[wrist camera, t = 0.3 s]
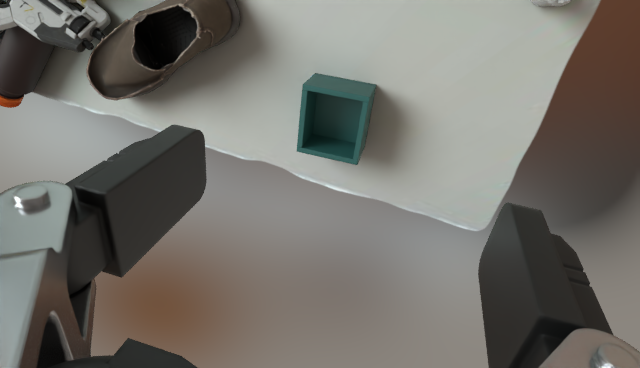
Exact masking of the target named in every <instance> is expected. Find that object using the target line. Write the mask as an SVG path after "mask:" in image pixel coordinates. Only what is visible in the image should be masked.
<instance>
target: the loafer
mask: <svg viewBox="0 0 640 368" xmlns="http://www.w3.org/2000/svg"><path fill="white" fill-rule="evenodd" d="M239 23H240V15H239V10H238V7H237V4H236V2H235V0H166V1H164V2H162V3H160V4H158V5H156V6H154V7H151V8H149V9H147V10H143V11H140V12H138V13H137V14H136V15H134V17H133V18H132V19H130V20H128V19H127V20H125V21H124V22H123V23H122V24H120V25H119V26H118V27H117V28H115V29H114V31H112V32H111V33H110V34H109V35H108V36H106V37H105V38H104V39H103V38H102V40H101V42H100V43H99V44H98V45H97V46H96V48H95V49H94V50H93V52H92V53H91V55H90V58H89V60H88V65H87V69H86V72H87V77H88V79H89V81H90V85H91V86H92V87H93V88H94V89H95V90H96V91H97V92H98V93H99V94H100V95H101V96H103V97H104V98H106V99H111V100H119V99H125V98H131V97H135V96H139V95H142V94H145V93H148V92H150V91H153V90H155V89H156V88H158V87H159V86H161V85H162V84H163V83H164V82H165V81H167V80H168V78H169V77H170V76H171V75H172V74H173V72H174V71H175V70H176V69H177V68H178V67H180V66H181V65H183V64H184V63H186V62H187V61H189V60H190V59H191V58H193V57H194V56H195V55H197V54H198V53H199V52H201V51H203V50H206V49H208V48H211V47H213V46H216V45H218V44H220V43H222V42H224V41H226V40H228V39H229V38H230V37H232V36H233V35H234V34H235V32H236V31H237V29H238V27H239Z"/></svg>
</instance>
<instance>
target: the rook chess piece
mask: <svg viewBox="0 0 640 368" xmlns="http://www.w3.org/2000/svg"><path fill="white" fill-rule="evenodd" d="M570 1H571V0H531V2H532V3H533V4H535V5H538V6H551V5H553V6H562V5H565V4H567V3H569V2H570Z"/></svg>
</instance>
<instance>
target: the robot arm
mask: <svg viewBox="0 0 640 368" xmlns="http://www.w3.org/2000/svg"><path fill="white" fill-rule="evenodd" d="M205 186H206V162H205V140H204V135H203V133H202V132H201V131H200V130H196V129H192V128H187V127H183V126H179V125H171V126H170V127H168V128H166V129H165V130H163V131H161V132H160V133H158V134H157V135H155V136H153V137H152V138H149V139H145V140H142V141H139V142H135V143H133V144H131V145H130V146H128V147H126V148H125V149H123V150H121V151H120V152H119V154H117V153H116V154H115V155H113V156H111V157H109V158H108V160H107V161H103V162H101V163H100V164H98V165H96V166H94V167H93V168H91V169H90V170H88V171H86V172H84V173H83V174H81V175H80V176H78V177H76V178H75V179H73V180H71V181H69V182H68V183H66V184H63V183H59V182H53V181H37V182H30V183H25V184H22V185H18V186H15V187H12V188H10V189H8V190H5V191H4V192H2V193H0V368H197V367H196V366H194V365H193V364H192V363H190V362H189V361H187V360H186V359H184V358H183V357H182V356H179V355H177V354H174V353H171V352H167V351H165V350H162V349H159V348H156V347H153V346H150V345H147V344H144V343H141V342H138V341H135V340H132V339H129V338H128V339H127V340H126V341H125V342H124V344H123V345H122V346H121V347H120V349H119V350H118V351H117V352H116V353H115V354H114V356H110V355H109V356H93V357H91V340H92V329H93V318H94V307H95V296H96V283H95V279H94V278H95V276H97V275H98V274H99V273H100V272H101V271H103V272H106V273H109V274H112V275H115V276H119V277H123V276H124V275H125V274H126V273H127V272H128V271H129V270H130V269H131V268H132V267H133V266H134V265H135V264H136V263H137V262H138V261H139V260H140V259H141V258H142V257H143V256H144V255H145V254H146V253H147V252H148V251H149V250H150V249H151V248H152V247H153V246H154V245H155V244H156V243H157V242H158V241H159V240H160V239H161V238H162V237H163V236H164V235H165V234H166V233H167V232H168V231H169V230H170V229H171V228H172V227H173V226H174V225H175V224H176V223H177V222H178V221H179V220H180V219H181V218H182V217H183V216H184V215H185V214H186V213H187V212H188V211H189V210H190V209H191V208H192V207H193V206H194V205H195V204H196V203H197V202H198V201H199V200H200V199H201V197H202V195H203V193H204V190H205ZM478 275H479V283H480V293H481V302H482V310H483V320H484V329H485V337H486V347H487V356H488V364H489V368H640V352H639V351H638V350H637V349H635V348H634V347H632V346H631V345H630V344H628V343H626V342H625V341H623V340H621V339H619V338H617V337H615V336H614V335H613V333H612V331H611V329H610V327H609V325H608V322H607V320H606V318H605V315H604V313H603V311H602V309H601V307H600V304H599V302H598V300H597V298H596V296H595V293H594V291H593V289H592V287H590V286H589V284H590V282H589V280H588V278H587V276H586V274H585V272H583V267H582V265H581V263H580V261H579V258H578V256H577V254H576V252H575V251H574V250H573V249H572V248H571V247H570V246H569V245H568V244H567V243H566V242H565V241H564V240H563V239H562V238H561V237H560V236H558V235H554V234H551V233H550V231H549V228H548V226H547V223H546V221H545V218H544V216H543V213H542V211H541V210H538V209H534V208H529V207H525V206H521V205H516V204H512V203H506V204H505V205H504V206H503V207H502V209H501V211H500V213H499V216H498V218H497V220H496V222H495V225H494V227H493V229H492V231H491V234H490V236H489V238H488V241H487V243H486V245H485V247H484V250H483V252H482V255H481V259H480V263H479V273H478Z"/></svg>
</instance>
